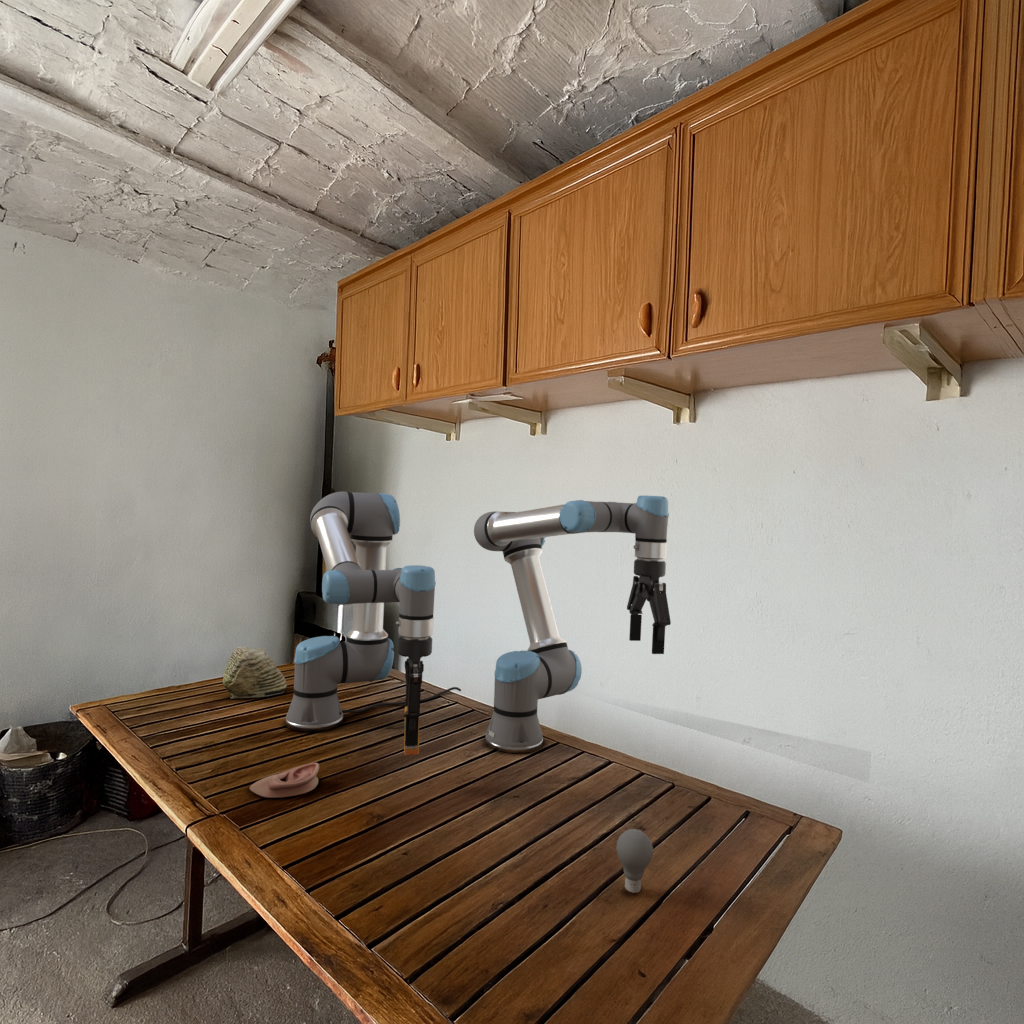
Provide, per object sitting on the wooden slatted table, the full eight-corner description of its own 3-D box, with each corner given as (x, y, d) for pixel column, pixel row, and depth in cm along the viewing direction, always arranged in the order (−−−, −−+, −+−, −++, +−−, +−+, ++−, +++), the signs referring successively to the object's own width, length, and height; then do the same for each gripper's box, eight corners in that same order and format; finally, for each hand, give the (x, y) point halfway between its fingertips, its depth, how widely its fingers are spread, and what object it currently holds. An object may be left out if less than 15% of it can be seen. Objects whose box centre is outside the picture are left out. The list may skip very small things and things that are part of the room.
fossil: (218, 695, 195) (220, 647, 195) (278, 685, 208) (279, 640, 207) (228, 703, 189) (230, 653, 188) (289, 692, 201) (290, 645, 201)
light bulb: (610, 879, 108) (613, 822, 108) (644, 879, 109) (647, 822, 109) (619, 902, 102) (622, 840, 102) (655, 901, 103) (658, 840, 103)
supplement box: (402, 749, 141) (404, 705, 141) (418, 749, 142) (420, 704, 142) (403, 755, 138) (405, 710, 138) (418, 755, 139) (420, 709, 139)
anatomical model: (241, 775, 133) (272, 754, 144) (240, 794, 133) (272, 771, 144) (299, 783, 130) (326, 761, 142) (298, 802, 130) (325, 779, 142)
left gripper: (396, 628, 147) (392, 728, 147) (399, 645, 131) (394, 757, 131) (429, 628, 148) (424, 727, 149) (435, 645, 132) (431, 756, 133)
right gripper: (616, 554, 164) (612, 635, 165) (657, 564, 140) (652, 660, 140) (643, 554, 166) (639, 635, 166) (688, 565, 142) (684, 659, 142)
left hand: (410, 741), depth 140 cm, fingers closed on supplement box, 3 cm apart
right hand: (645, 646), depth 153 cm, fingers open, 13 cm apart
